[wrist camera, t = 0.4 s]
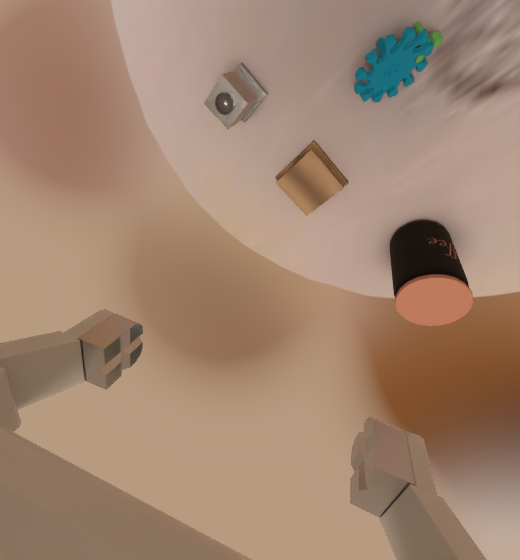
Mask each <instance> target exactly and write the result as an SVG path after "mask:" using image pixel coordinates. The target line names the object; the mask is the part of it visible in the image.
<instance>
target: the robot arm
mask: <svg viewBox="0 0 520 560" xmlns="http://www.w3.org/2000/svg"><path fill="white" fill-rule="evenodd" d="M142 333H143V328H142V325H141V324H139V323H137V322H134V321H132V320H130V319H127V318H125V317H123V316H121V315H118V314H115V313H113V312H111V311H108V310H106V309H104V310H100V311H98V312H97V313H95V314H94V315H92V316H90V317H88V318H87V319H85V320H84V321H82V322H80V323H78V324H77V325H75V326H74V327H72V328H70V329H69V330H67V331H65V332H64V333H63V332H60V331H58V332H54V333H48V334H43V335H38V336H34V337H29V338H24V339H19V340H14V341H9V342H4V343H0V560H251V559H249V558H248V557H246V556H244V555H242V554H240V553H238V552H236V551H235V550H233V549H231V548H229V547H227V546H225V545H223V544H222V543H220V542H218V541H216V540H214V539H212V538H210V537H208V536H206V535H205V534H203V533H201V532H199V531H197V530H195V529H194V528H191V527H190V526H188V525H186V524H184V523H182V522H180V521H179V520H177V519H175V518H173V517H171V516H169V515H167V514H166V513H164V512H162V511H160V510H158V509H156V508H154V507H152V506H150V505H149V504H147V503H145V502H143V501H141V500H139V499H137V498H136V497H134V496H132V495H130V494H128V493H126V492H124V491H122V490H121V489H119V488H117V487H115V486H113V485H111V484H109V483H108V482H105V481H104V480H102V479H100V478H98V477H96V476H94V475H92V474H91V473H89V472H87V471H85V470H83V469H81V468H79V467H77V466H76V465H74V464H72V463H70V462H68V461H66V460H64V459H62V458H61V457H59V456H57V455H55V454H53V453H51V452H50V451H48V450H46V449H44V448H42V447H40V446H38V445H36V444H35V443H33V442H31V441H29V440H27V439H25V438H23V437H21V436H19V435H18V434H16V433H14V431H15V430H16V429H18V428H19V427H20V424H21V420H20V417H19V414H18V409H21V408H23V407H26V406H28V405H31V404H33V403H35V402H38V401H40V400H42V399H45V398H47V397H49V396H52V395H54V394H57V393H59V392H62V391H64V390H67V389H69V388H71V387H74V386H76V385H79V384H81V383H83V382H85V381H88V382H90V383H92V384H95V385H97V386H99V387H101V388H104V389H107V388H108V387H110V386H111V385H112V384H113V383H114V382H115V381H116V380H117V379H118V378H119V377H120V376H121V373H122V370H123V369H126V368H129V367H131V366H132V365H133V364H134V363H135V362H136V361H137V359H138V357H139V356H140V354H141V351H142V345H143V343H142V341H141V339H140V338H139V336H140V335H141V334H142ZM351 465H352V467H353V469H354V471H355V473H354V474H353V476H352V478H351V484H350V488H351V490H350V503H352V504H353V505H355V506H358V507H359V508H361V509H363V510H366V511H368V512H370V513H372V514H374V515H376V516H378V517H380V522H381V524H382V526H383V529H384V531H385V533H386V536H387V538H388V540H389V543H390V545H391V547H392V549H393V552H394V554H395V557H396V559H397V560H486V558H485V557H484V555H483V554H482V553H481V551H480V550H479V548H478V547H477V545H476V544H475V543H474V541H473V540H472V538H471V537H470V536H469V534H468V533H467V532H466V530H465V529H464V527H463V526H462V525H461V523H460V521H459V520H458V519H457V517H456V516H455V515H454V513H453V512H452V510H451V509H450V507H449V506H448V505H447V503H446V502H445V500H444V499H443V498H441V497H439V496H437V492H436V488H435V484H434V480H433V476H432V472H431V468H430V464H429V460H428V455H427V451H426V447H425V443H424V440H423V439H422V437H420V436H418V435H415V434H412V433H410V432H407V431H405V430H402V429H400V428H397V427H395V426H392V425H390V424H387V423H385V422H382V421H379V420H377V419H374V418H372V417H369V418H368V419H367V420H366V422H365V423H364V431H363V432H360V433H358V435H357V437H356V439H355V441H354V444H353V447H352V454H351Z"/></svg>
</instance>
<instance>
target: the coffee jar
mask: <svg viewBox="0 0 520 560" xmlns="http://www.w3.org/2000/svg"><path fill="white" fill-rule="evenodd" d="M390 256H391V267H392V278H393V289H394V296H395V298H396V300H395V306H396V309H397V311H398V313H399V314H400V315H401V316H402V317H403V318H404V319H406V320H408V321H410V322H412V323H416V324H420V325H428V326H435V325H444V324H448V323H451V322H454V321H456V320H458V319H459V318H461V317H462V316H465V314H466V313H467V312H468V311H469V310H470V309H471V307H472V304H473V295H472V292H471V290H470V289H469V285H468V281H467V278H466V276H465V273H464V270H463V268H462V265H461V263H460V260H459V258H458V255H457V253H456V250H455V247H454V245H453V242H452V240H451V237H450V235H449V233H448V232H447V230H446V229H445V228H444V227H443V226H441V225H439V224H437V223H434V222H429V221H418V222H414V223H411V224H408V225H406V226H404V227H403V228H401V229H400V230H399V231H398V232H397V233H396V234H395V235H394V236H393V238H392V240H391V242H390Z"/></svg>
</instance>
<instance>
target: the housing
mask: <svg viewBox="0 0 520 560" xmlns="http://www.w3.org/2000/svg"><path fill="white" fill-rule="evenodd" d="M267 94H268V93H267V92H266V91H265V90H264V88H263V87H262V86H261V85H260V84H259V82H258V81H257V80H256V79H255V78H254V76H253V75H252V74H251V73H250V72H249V70H248V69H247V68H246V67H245V66H244V64H243V63H240V64H239V66H238V67H237V69H236V70H235V71H232V72H229V73H225V74H222V76H221V77H220V79H219V80H218V82H217V83H216V85H215V87H214V88H213V90H212V91H211V93H210V94H209V96H208V98H207V99H206V101H205V102H204V104H205V105H206V106H207V107H208V108H209V109H210V111H211V112H212V113H213V114H214V115H215V116H216V117H217V118H218V119H219V120H220V121H221V122H222V123H223V125H224V126H225V127H226V128H227V129H229V128H231V127H232V126H233V125H235V124H236V123H238V122H239V121H240V120H243V122H245V121H246V120H247V119H248V118H249V117H250V115H251V114H252V113H253V112H254V110H255V109H256V108H257V106H258V105H259V104H260V103H261V101H262V100H263V99H264V98H265V96H266V95H267Z"/></svg>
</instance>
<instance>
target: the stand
mask: <svg viewBox="0 0 520 560" xmlns="http://www.w3.org/2000/svg"><path fill="white" fill-rule="evenodd" d="M276 179H277V182H276V183H277V185H278V186H279V187H280V188H281V189H282V190H283V191H284V192H285V193H286V194H287V195H288V196H289V197H290V199H291V200H292V201H293V202H294V203H295V204H296V205H297V206H298V207H299V208H300V209H301V210H302V211H303V213H304V214H305V215H306V216H307V215H308V214H310V213H311V212H312V211H314V210H315V209H316V208H318V207H319V206H320V205H322V204H323V203H324V202H325V201H327V200H328V199H329V198H331V197H332V196H333V195H335V194H336V193H337V192H339V191H340V190H341V189H343V188H344V186H345V185H346V184H348V181H347V179H346V178H345V177H344V176H343V175H342V173H341V172H340V171H339V170H338V168H337V167H336V166H335V165H334V164H333V162H332V161H331V160H330V159H329V158H328V156H327V155H326V154H325V153H324V151H323V150H322V149H321V148H320V147H319V145H318V144H317V143H316V142H315V141H313V142H312V143H311V144H310V145H309V146H308V147H307V148H306V149H305V150H304V151H303V152H301V153H300V154H299V155H298V156H297V157H296V158H295V159H294V160H293V161H292V162H291V163H290V164H289V165H288V166H287V167H286V168H285V169H284V170H283V171H282V172H281V173H280V174H278V175H277V176H276Z"/></svg>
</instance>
